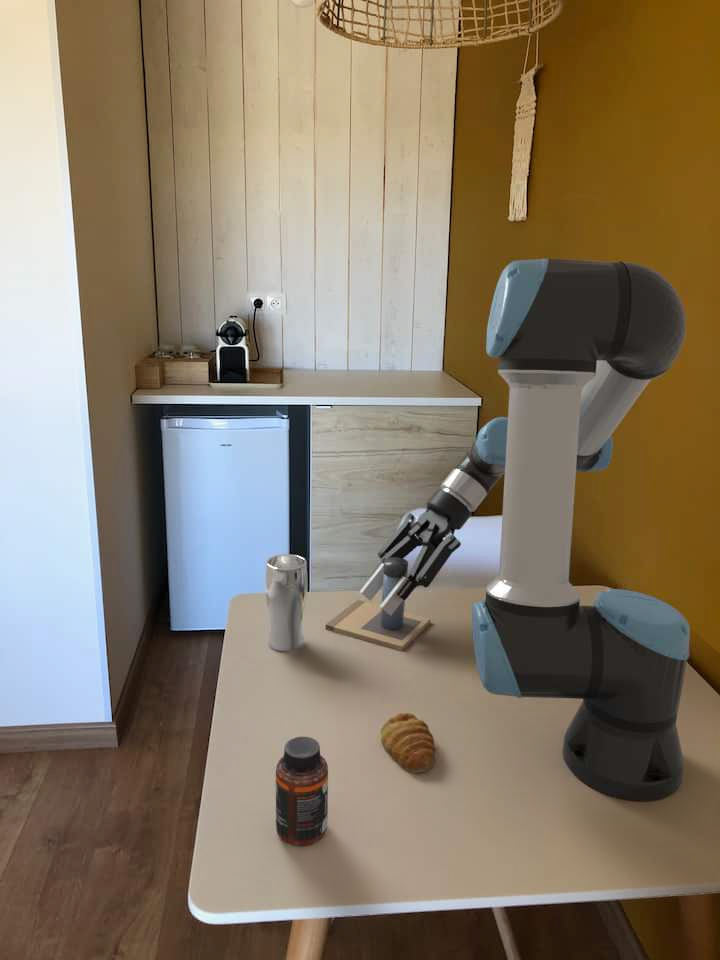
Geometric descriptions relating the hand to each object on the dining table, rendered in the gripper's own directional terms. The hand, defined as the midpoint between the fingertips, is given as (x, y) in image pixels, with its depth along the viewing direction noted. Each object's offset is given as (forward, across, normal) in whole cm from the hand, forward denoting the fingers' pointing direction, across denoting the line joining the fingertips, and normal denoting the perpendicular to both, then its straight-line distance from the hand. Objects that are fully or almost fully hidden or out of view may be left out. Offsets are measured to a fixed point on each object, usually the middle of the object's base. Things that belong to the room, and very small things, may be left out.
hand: (375, 603), depth 134 cm
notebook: (+2, +2, -6) cm, 7 cm away
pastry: (+14, -30, +5) cm, 33 cm away
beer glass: (+15, +4, +6) cm, 17 cm away
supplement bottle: (+28, -36, +19) cm, 50 cm away
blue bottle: (+1, 0, -6) cm, 6 cm away
